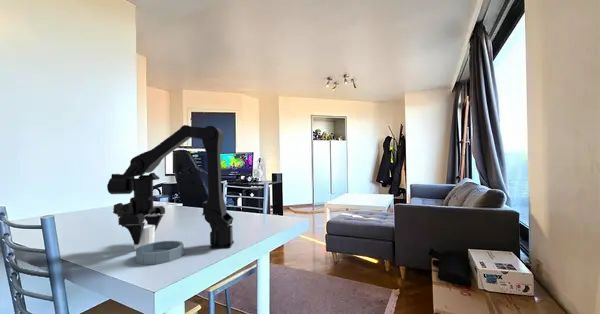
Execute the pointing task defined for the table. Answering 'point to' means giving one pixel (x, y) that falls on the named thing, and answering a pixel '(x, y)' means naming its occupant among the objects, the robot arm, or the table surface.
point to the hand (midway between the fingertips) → (144, 240)
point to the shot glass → (146, 236)
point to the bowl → (159, 252)
